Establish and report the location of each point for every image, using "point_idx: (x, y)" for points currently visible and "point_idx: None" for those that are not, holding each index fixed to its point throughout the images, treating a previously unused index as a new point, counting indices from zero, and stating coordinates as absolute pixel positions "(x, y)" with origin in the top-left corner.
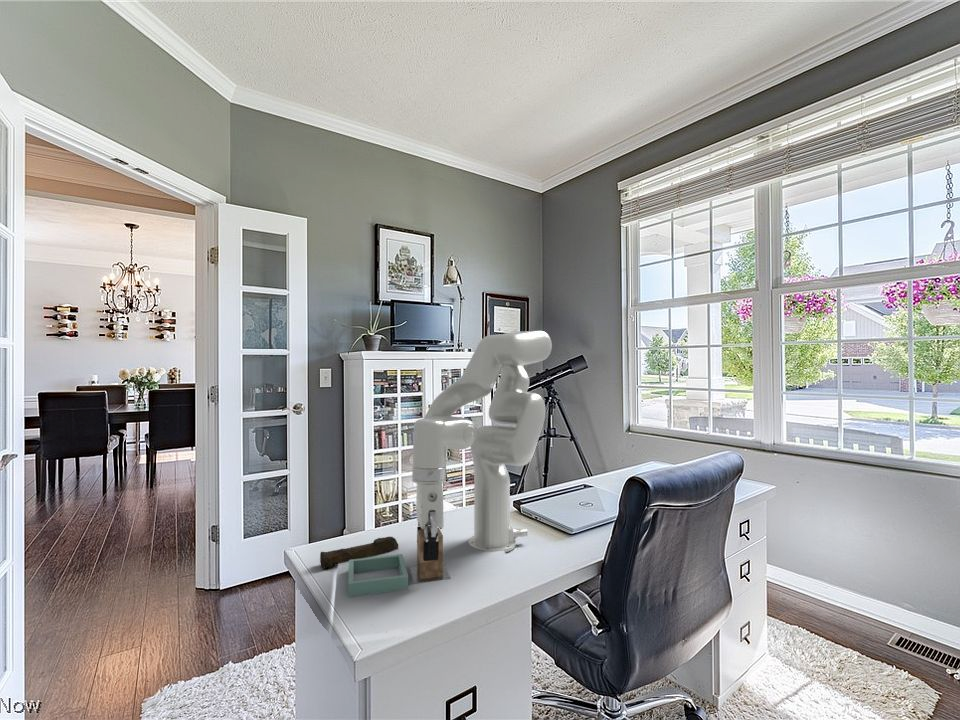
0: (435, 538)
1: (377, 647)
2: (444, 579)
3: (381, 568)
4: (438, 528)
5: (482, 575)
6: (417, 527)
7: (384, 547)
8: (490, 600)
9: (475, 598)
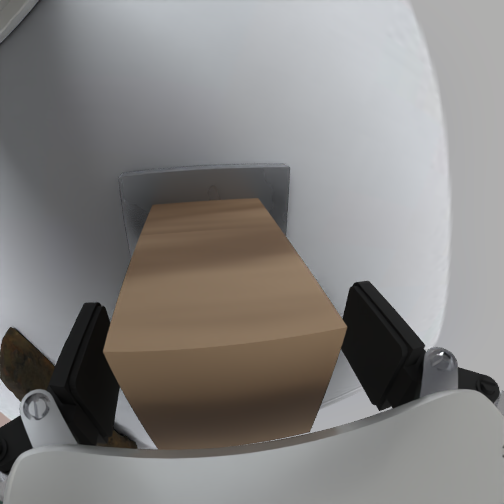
0: (465, 376)
1: (435, 333)
2: (287, 195)
3: None
4: (126, 357)
5: (250, 17)
6: (101, 440)
7: (40, 381)
8: (424, 80)
9: (405, 115)
